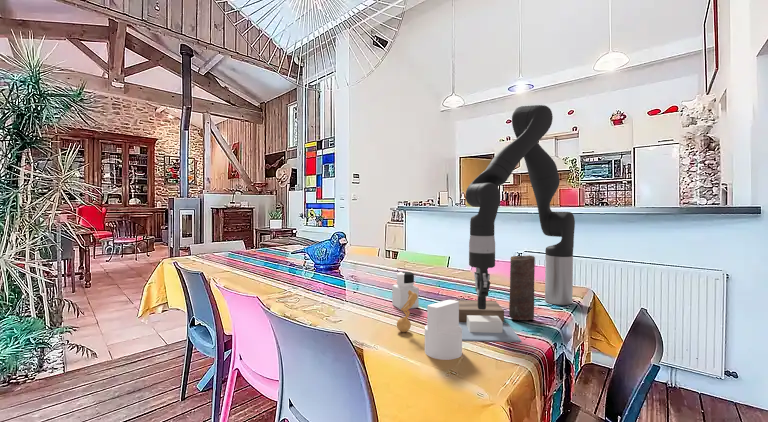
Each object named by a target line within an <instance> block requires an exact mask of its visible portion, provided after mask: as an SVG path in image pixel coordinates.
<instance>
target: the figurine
mask: <svg viewBox="0 0 768 422" xmlns="http://www.w3.org/2000/svg"><path fill="white" fill-rule="evenodd" d="M408 294H409V296H408V301H407V302H406V304H405V305H404V306H403V308H402V309H401V310H400V311H401V312H403V314H405V316H404V317H400V318H399V319H398V320H397V322H396V328H397V330H398V331H399V332H401V333H407V332H409V330H411V326H412V323H411V321H410V320H409V317H410V313H411V311H410V310H411V309H412V308H411V307H412V306H413V304H415V301H416V299H417V294H416V293H413V292H412V291H410V290H409V291H408ZM408 302H409V303H408ZM407 304H408V305H407ZM406 305H407V306H406ZM405 306H406V307H405ZM404 307H405V308H404ZM410 308H411V309H410Z"/></svg>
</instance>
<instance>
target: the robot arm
mask: <svg viewBox="0 0 768 422" xmlns="http://www.w3.org/2000/svg"><path fill="white" fill-rule="evenodd" d="M553 118H554V117H553V111H552V109H551V108H550V107H549V106H548V105H544V104H543V105H542V104H536V105H524V106H523V105H522V106H519V107H516V108H515V109H514V110H513V112H512V115H511V124H512V129H513V132H514V135H515V139H514V140H513V141H511V142H510V143H508V144H507V145H505V146H504V147H503V148H501V149H500V150H499V151H497V153H496V154H495V156H494V157H493V158H492V159H491V161H490V163H489V164H487V166H486V169H485V170H484V171H482V172H481V173H480V174H478V175H477V176H476V177H475V178H474V179H473V181H471V182H470V183H469V185H468V187H467V188H466V191H465V201H466V203H467V204H468V205H470V206H471V207H476V208H478V212H477V214H475V215H473V216H471V217H470V219H469V220H470V221H469V226H470V227H469V239H468V240H469V241H468V242H469V243H468V265H469V267H471V268H475V271H474V273H473V277H474V286H475V292H476V296H477V300H478V308H479V309H482V310H485V309H486V301H487V297H488V296H489V293H490V287H491V281H490V278H491V277H490V275H491V274H490V273H489V271H488V269H492V268H495V266H496V241H495V221H496V218H497V215H498V211H499V206H500V203H501V191H500V189H499V186H501V185H504V184H505V183H506V181H508V180H509V178H510V176H511V175H512V174H513V171H514V170H515V169H516V167H517V165H518V164H519V163H520V161H522V159H523V158H524V161H525V165H526V169H527V173H528V178H529V181H530V185H531V189H532V191H533V193H534V198H535V201H536V202H535V203H536V206H537V212H538V218H539V223H540V229H541V231H542V233H543V235H545V236H547V237H555V238H557V237H559V238H560V239H561V240H560V241H559V242H558V243H556V244H552V245H549V246H547V247H545V253H544V254H545V259H544V260H545V262H544V263H545V266H544V267H545V270H544V272H545V273H544V274H545V277H544V280H545V281H544V283H545V284H544V301H545V302H546V303H549V304H551V305H558V306H559V305H560V306H567V305H568V306H569V305H572V304H573V284H574V282H573V281H574V278H573V276H574V275H573V274H574V271H573V270H574V256H573V255H574V243H575V229H576V228H575V227H576V226H575V225H576V222H575V221H576V220H575V215H574V214H573V213H572V212H571V211H553V210H552V209H551V202H552V200H553V198H554V196H555V194H556V193H557V191H558V188H559V186H560V183H561V182H560V181H561V180H560V175H559V170H558V167H557V164H556V162H555V161H554V159H553V158H552V156H551V155H550V154H548V152H547V151H546V150H545V149H544V148H543V147H542V146H541V145H540V143H539V141H540V140H541V139H542V138H544V136H545V135H546V134H547V133H548V131H549V130H550V128H551V126H552V123H553Z"/></svg>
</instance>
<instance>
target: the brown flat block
mask: <svg viewBox="0 0 768 422" xmlns="http://www.w3.org/2000/svg"><path fill="white" fill-rule="evenodd" d="M454 300H455V301H459V322H467V315H479V316H498V317H499V318H500V319H501V321H502V322H503V323H505V310H504V309H503V307H501V305H500V304H499V303H498V302H497V301H496V300H486V309H485V310H482V309H479V308H478V299H476V300H474V299H473V300H472V299H471V300H469V299H467V300H465V299H454Z"/></svg>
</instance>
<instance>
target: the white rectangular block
mask: <svg viewBox="0 0 768 422" xmlns="http://www.w3.org/2000/svg"><path fill="white" fill-rule="evenodd" d="M467 327H468V330H469V332H488V333H503V322H502V321H501V319H500V318H499V317H498V316H479V315H467Z"/></svg>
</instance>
